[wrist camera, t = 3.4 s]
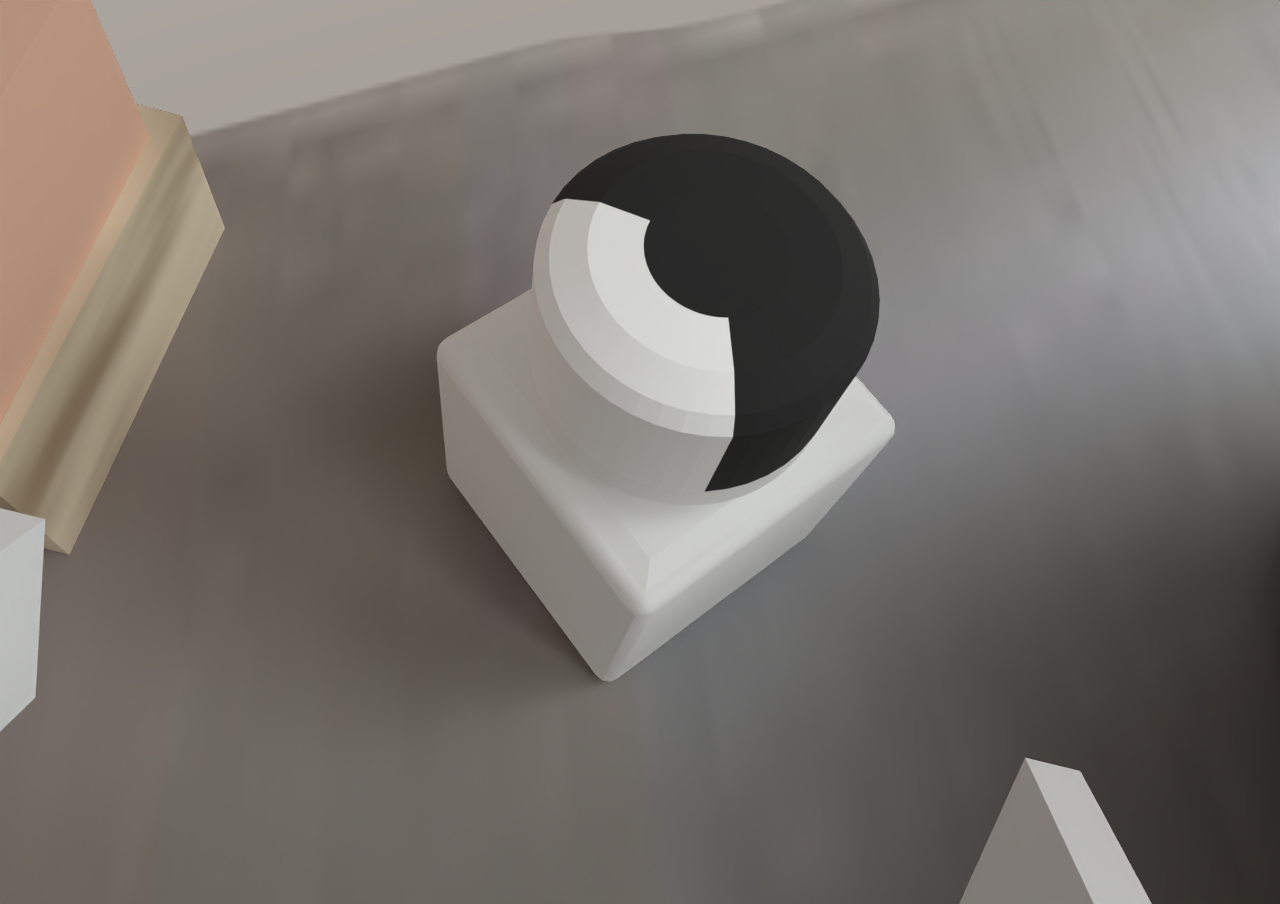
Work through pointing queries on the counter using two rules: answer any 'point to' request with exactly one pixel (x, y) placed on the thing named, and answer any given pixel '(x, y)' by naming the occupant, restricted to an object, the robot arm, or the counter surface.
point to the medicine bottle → (667, 388)
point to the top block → (54, 163)
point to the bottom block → (109, 336)
